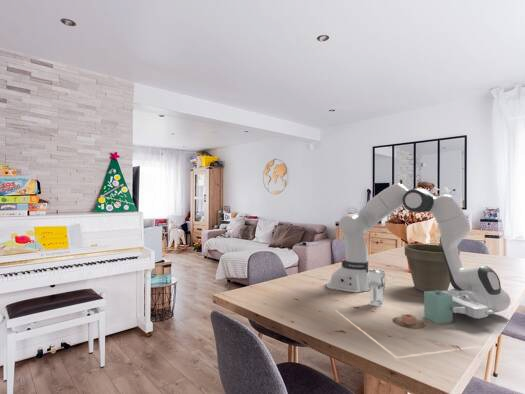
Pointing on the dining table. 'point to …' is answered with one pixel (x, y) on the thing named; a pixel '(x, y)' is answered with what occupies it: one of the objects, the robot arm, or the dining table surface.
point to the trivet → (418, 324)
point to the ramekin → (408, 319)
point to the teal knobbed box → (438, 306)
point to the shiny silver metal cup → (376, 286)
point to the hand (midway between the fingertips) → (441, 305)
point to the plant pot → (428, 267)
